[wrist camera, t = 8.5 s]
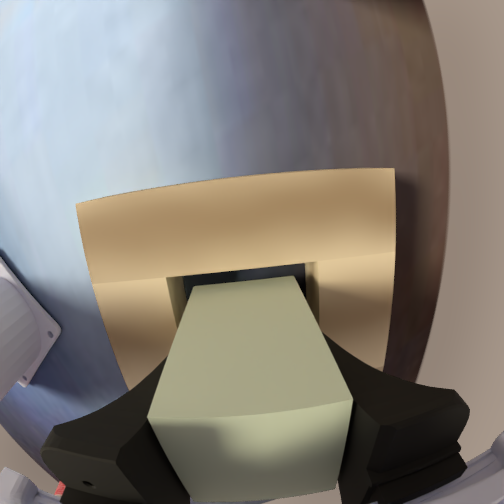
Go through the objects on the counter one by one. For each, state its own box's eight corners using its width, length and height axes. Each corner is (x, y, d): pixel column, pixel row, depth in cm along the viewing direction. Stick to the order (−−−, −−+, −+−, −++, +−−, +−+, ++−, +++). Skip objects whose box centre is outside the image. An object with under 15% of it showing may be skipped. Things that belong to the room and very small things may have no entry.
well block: (359, 382, 18) (374, 411, 15) (158, 403, 18) (149, 433, 15) (367, 167, 14) (394, 168, 11) (103, 197, 14) (75, 204, 11)
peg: (297, 356, 14) (335, 488, 7) (209, 365, 14) (193, 501, 7) (293, 275, 13) (352, 398, 6) (194, 285, 13) (147, 417, 5)
